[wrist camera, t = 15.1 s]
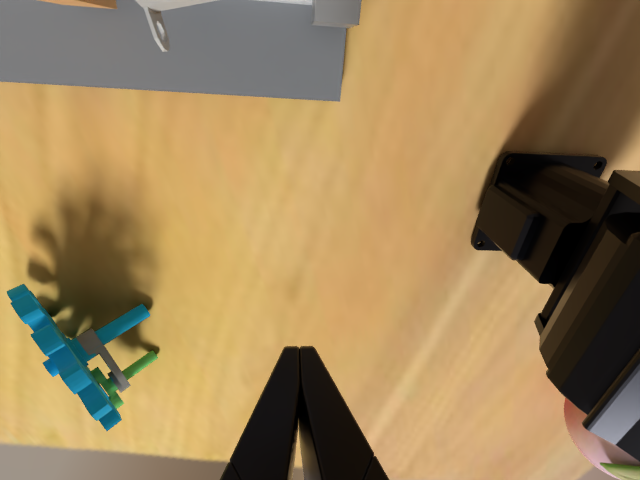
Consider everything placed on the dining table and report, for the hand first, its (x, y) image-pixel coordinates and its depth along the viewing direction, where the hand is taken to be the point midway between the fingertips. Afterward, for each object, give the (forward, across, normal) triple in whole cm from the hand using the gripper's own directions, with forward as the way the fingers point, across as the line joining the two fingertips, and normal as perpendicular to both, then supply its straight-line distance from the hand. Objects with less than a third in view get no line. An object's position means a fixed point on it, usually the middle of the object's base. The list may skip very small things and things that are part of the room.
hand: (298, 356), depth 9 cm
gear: (+12, +13, +10) cm, 21 cm away
